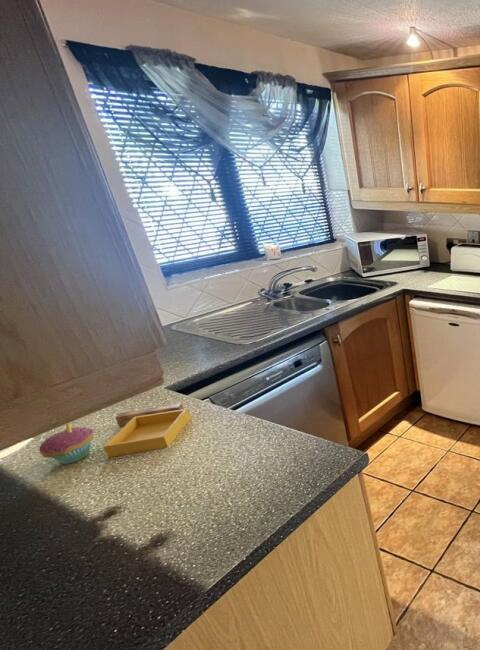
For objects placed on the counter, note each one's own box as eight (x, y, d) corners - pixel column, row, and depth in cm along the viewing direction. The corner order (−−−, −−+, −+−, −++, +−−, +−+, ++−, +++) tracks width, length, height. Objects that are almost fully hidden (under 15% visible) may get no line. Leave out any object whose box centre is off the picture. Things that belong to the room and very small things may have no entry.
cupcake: (102, 440, 97) (83, 400, 93) (98, 458, 91) (76, 416, 86) (52, 456, 92) (29, 414, 87) (44, 476, 86) (18, 433, 81)
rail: (119, 426, 102) (114, 417, 101) (123, 422, 104) (119, 413, 103) (181, 416, 106) (178, 407, 105) (184, 412, 108) (181, 403, 106)
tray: (108, 457, 91) (103, 446, 90) (138, 426, 102) (134, 416, 101) (168, 446, 94) (163, 436, 93) (191, 417, 105) (187, 408, 104)
